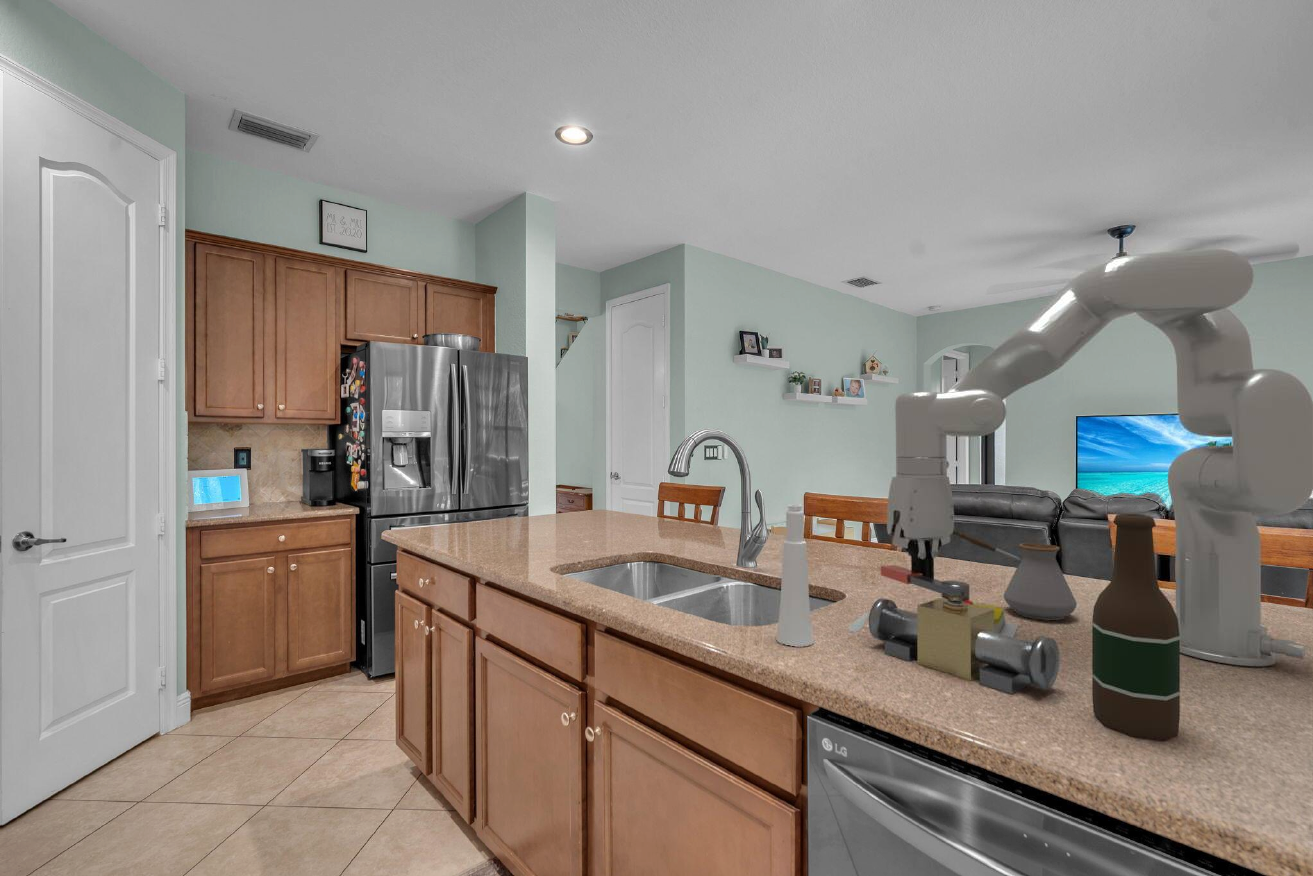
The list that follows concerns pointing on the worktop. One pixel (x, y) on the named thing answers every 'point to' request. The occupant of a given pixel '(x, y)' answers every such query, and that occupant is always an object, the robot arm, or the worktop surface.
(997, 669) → the valve
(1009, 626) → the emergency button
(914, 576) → the lever
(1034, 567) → the coffee pot
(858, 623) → the butter knife
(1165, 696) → the beer bottle
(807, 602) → the cosmetic bottle
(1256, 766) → the worktop surface
